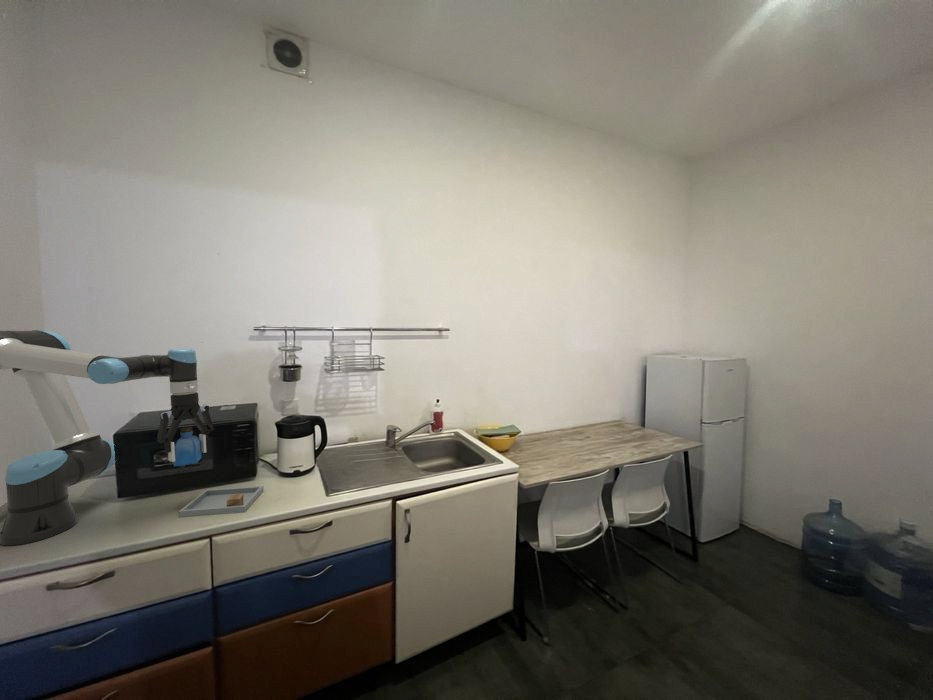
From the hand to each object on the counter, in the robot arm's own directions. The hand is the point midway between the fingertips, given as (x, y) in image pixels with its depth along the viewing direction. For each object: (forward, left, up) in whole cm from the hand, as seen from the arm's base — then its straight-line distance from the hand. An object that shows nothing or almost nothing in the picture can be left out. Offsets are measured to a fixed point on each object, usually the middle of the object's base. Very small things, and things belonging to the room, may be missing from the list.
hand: (188, 456), depth 120 cm
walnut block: (+17, -5, -18) cm, 25 cm away
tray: (+11, 0, -18) cm, 21 cm away
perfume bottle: (0, 0, -2) cm, 2 cm away
